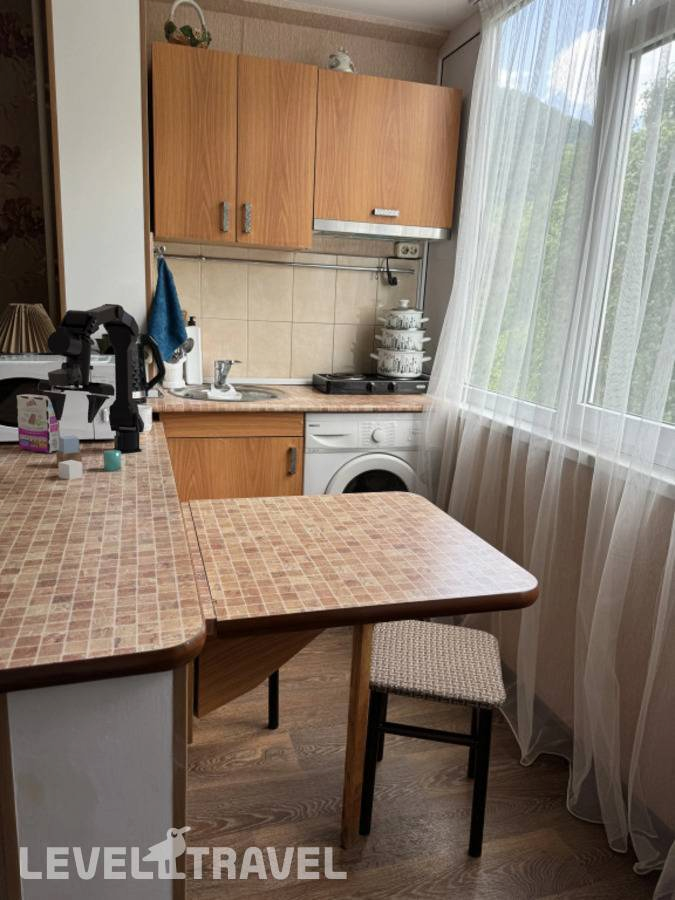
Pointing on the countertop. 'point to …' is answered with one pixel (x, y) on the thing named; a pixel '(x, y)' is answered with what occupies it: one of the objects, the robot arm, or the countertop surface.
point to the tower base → (68, 456)
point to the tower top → (68, 444)
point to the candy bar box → (37, 424)
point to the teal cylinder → (112, 460)
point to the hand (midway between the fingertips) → (74, 421)
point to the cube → (70, 469)
